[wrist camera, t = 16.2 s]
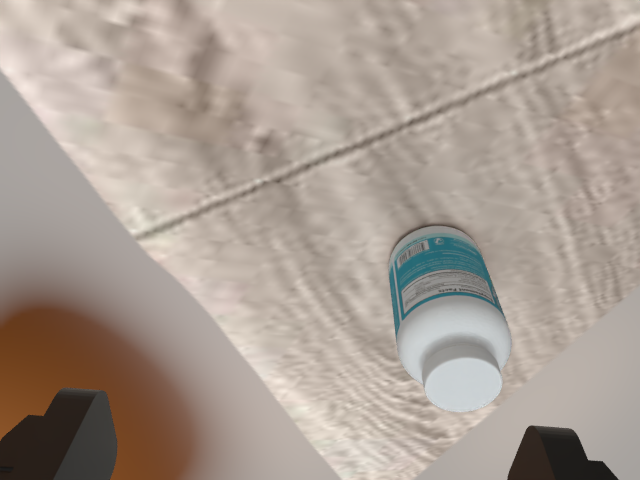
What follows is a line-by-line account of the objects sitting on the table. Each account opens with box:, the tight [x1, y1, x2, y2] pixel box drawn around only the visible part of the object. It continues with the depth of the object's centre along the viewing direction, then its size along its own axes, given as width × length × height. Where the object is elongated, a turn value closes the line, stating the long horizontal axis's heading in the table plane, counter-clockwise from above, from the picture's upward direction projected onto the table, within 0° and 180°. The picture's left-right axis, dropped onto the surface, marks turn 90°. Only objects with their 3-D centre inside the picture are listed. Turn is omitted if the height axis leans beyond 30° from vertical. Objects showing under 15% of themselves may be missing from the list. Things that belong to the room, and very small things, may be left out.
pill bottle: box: [389, 226, 512, 412], centre depth 39 cm, size 8×7×14 cm
